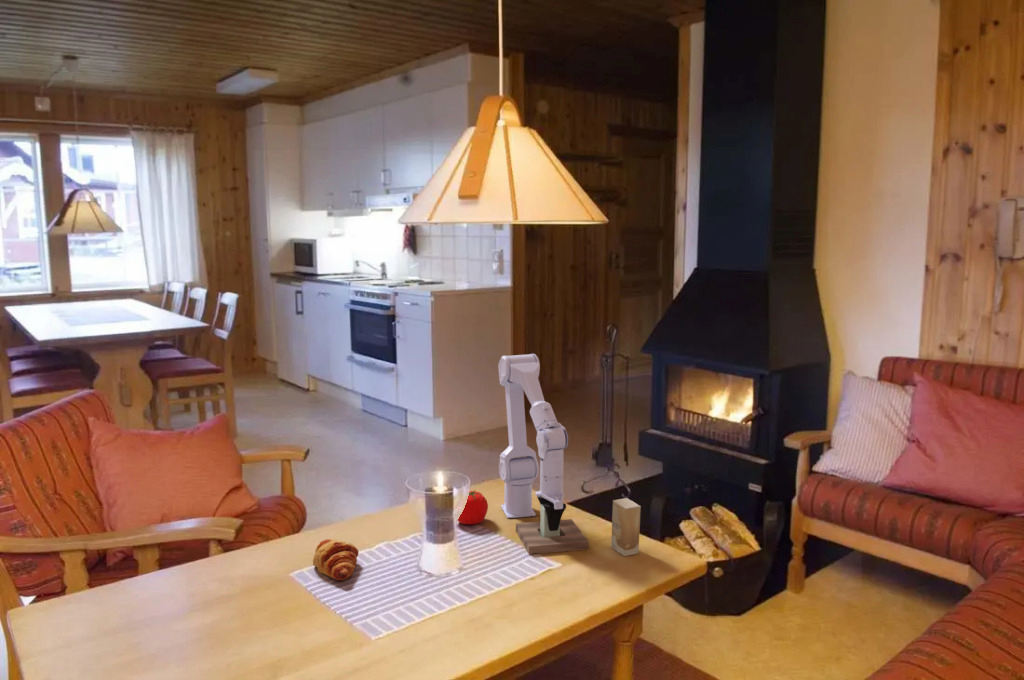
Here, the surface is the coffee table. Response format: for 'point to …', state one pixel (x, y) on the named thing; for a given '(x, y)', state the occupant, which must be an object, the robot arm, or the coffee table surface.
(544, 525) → the sage peg
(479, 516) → the tomato
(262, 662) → the coffee table surface
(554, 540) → the walnut socket frame
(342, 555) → the croissant
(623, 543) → the skincare box
